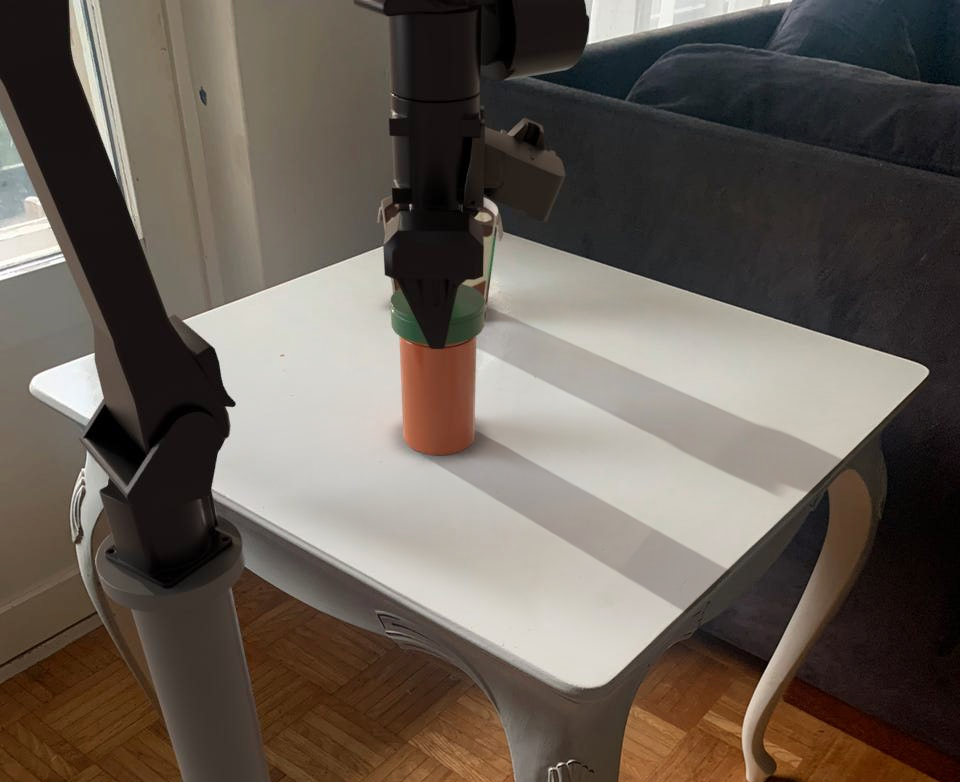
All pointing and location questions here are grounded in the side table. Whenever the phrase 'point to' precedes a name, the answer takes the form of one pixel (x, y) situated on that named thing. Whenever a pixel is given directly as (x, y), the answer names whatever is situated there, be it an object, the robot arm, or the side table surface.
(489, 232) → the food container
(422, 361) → the jar
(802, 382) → the side table surface
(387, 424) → the side table surface
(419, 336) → the green cylinder
